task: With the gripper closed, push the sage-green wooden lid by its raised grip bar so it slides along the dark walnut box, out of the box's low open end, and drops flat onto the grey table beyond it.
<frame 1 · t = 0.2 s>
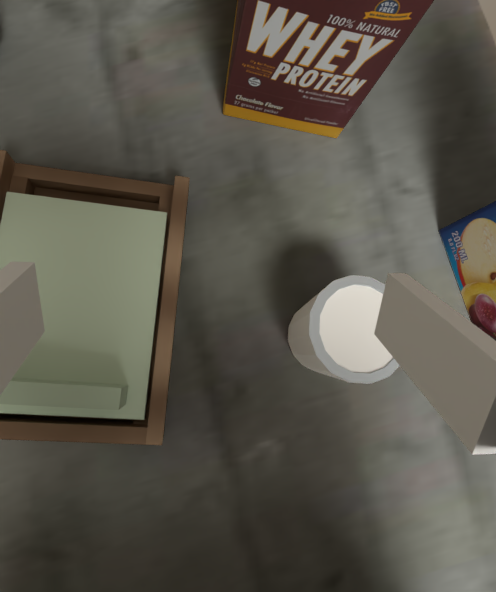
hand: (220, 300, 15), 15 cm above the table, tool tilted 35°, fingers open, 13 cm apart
white cup: (320, 336, 32), on the table
box: (85, 301, 29), on the table
juice carton: (494, 283, 36), on the table
supplement box: (287, 54, 36), on the table
lid: (77, 305, 27), point 2 cm above the table, touching box
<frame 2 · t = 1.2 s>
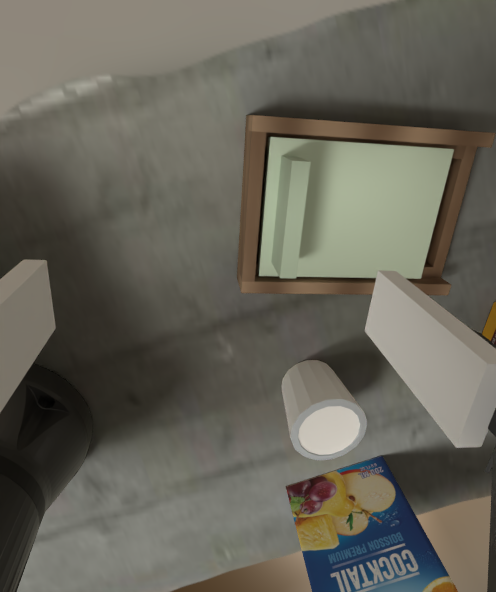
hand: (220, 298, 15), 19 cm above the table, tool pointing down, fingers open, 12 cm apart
white cup: (307, 381, 41), on the table
box: (346, 207, 34), on the table
juice carton: (339, 490, 48), on the table
lid: (348, 212, 32), point 2 cm above the table, touching box
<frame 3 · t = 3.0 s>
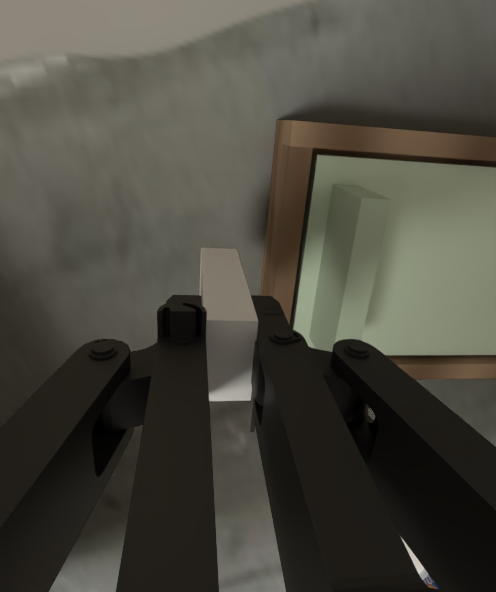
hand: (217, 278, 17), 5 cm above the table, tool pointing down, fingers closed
box: (415, 252, 24), on the table
lid: (423, 263, 22), point 2 cm above the table, touching box
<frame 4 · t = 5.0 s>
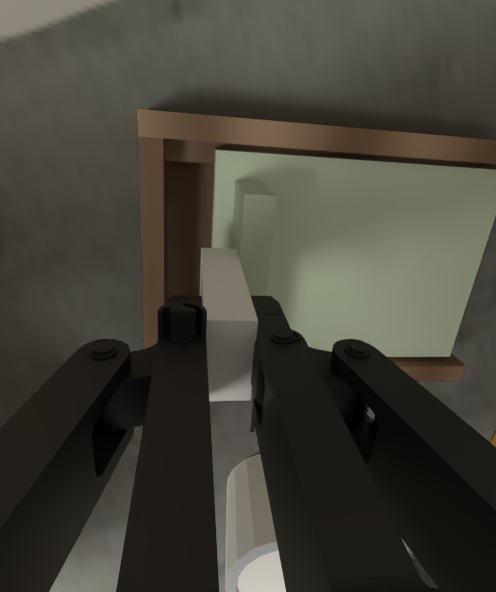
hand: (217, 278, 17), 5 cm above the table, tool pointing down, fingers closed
white cup: (263, 479, 30), on the table
box: (311, 250, 23), on the table
lid: (344, 262, 21), point 2 cm above the table
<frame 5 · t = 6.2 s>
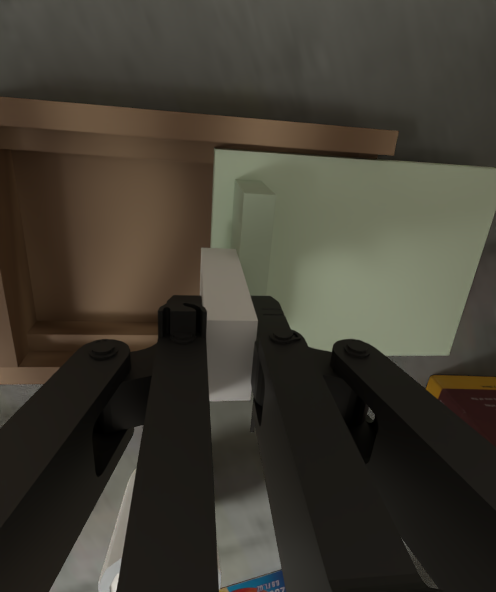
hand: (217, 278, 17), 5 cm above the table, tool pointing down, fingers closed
white cup: (168, 482, 29), on the table
box: (186, 244, 22), on the table
lid: (343, 261, 21), point 2 cm above the table, touching box, gripper
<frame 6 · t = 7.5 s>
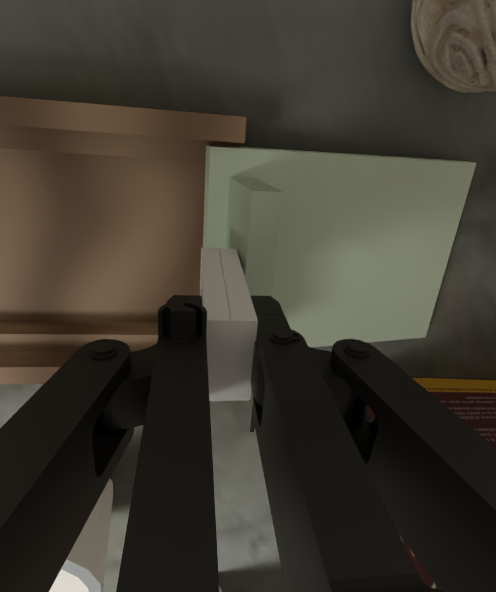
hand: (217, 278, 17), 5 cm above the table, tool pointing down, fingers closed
white cup: (72, 486, 28), on the table
box: (56, 239, 21), on the table
supplement box: (418, 432, 30), on the table
carving: (457, 6, 19), on the table
lid: (330, 254, 22), point 1 cm above the table, tilted 9°
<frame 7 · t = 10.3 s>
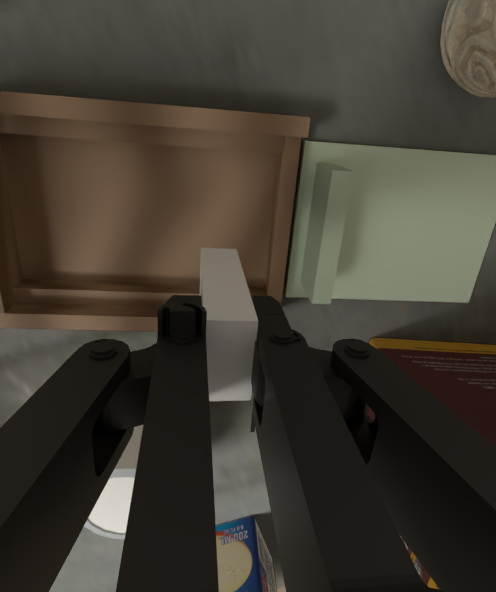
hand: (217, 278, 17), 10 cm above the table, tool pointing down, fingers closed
white cup: (141, 429, 33), on the table
box: (147, 215, 26), on the table
juice carton: (207, 551, 40), on the table
supplement box: (437, 391, 34), on the table
carving: (478, 26, 23), on the table
lid: (389, 226, 28), on the table
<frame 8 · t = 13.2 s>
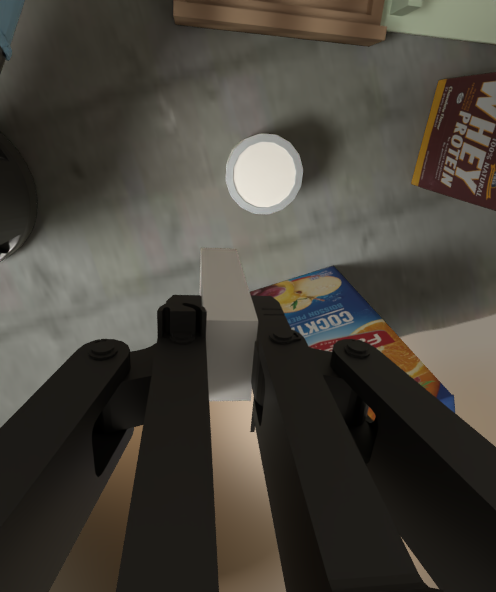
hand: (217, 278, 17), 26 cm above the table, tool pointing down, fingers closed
white cup: (254, 166, 41), on the table
juice carton: (292, 307, 49), on the table
supplement box: (485, 142, 43), on the table
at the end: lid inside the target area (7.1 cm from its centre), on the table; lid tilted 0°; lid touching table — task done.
